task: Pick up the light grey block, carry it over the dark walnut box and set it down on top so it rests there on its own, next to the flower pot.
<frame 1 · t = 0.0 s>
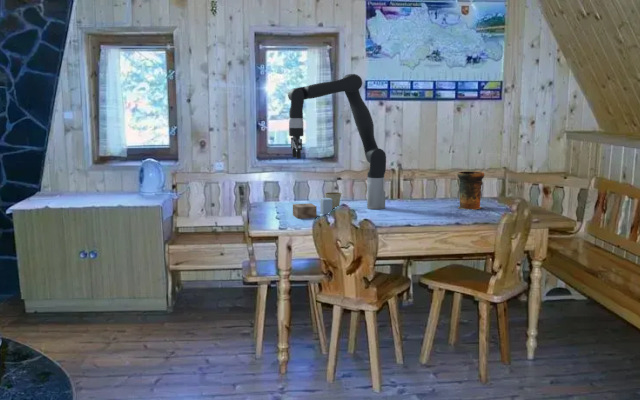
hand: (296, 157, 337), 29 cm above the table, tool pointing down, fingers open, 8 cm apart
walnut box: (304, 216, 331), on the table
flower pot: (333, 209, 353), on the table
vessel: (469, 208, 354), on the table
light grey block: (326, 213, 338), on the table
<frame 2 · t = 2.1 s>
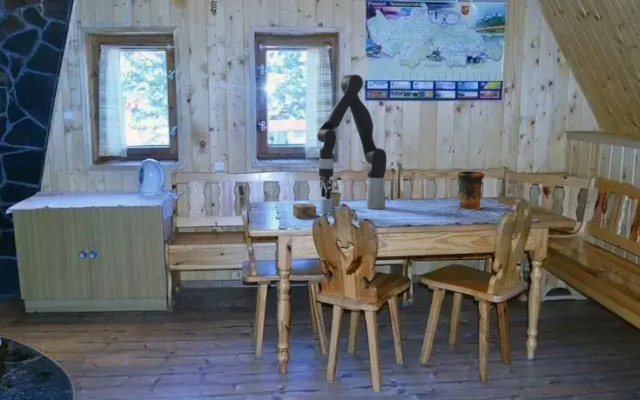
hand: (325, 197, 337), 8 cm above the table, tool pointing down, fingers open, 8 cm apart
nothing on the table moved.
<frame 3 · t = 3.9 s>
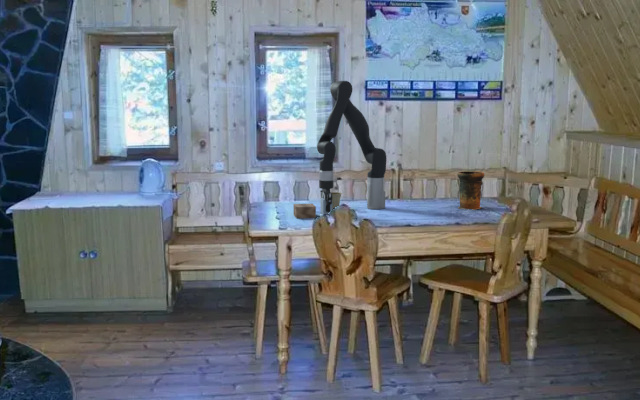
hand: (326, 210, 338), 1 cm above the table, tool pointing down, fingers closed on light grey block, 5 cm apart
light grey block: (326, 213, 338), on the table, touching gripper
everything else where it was.
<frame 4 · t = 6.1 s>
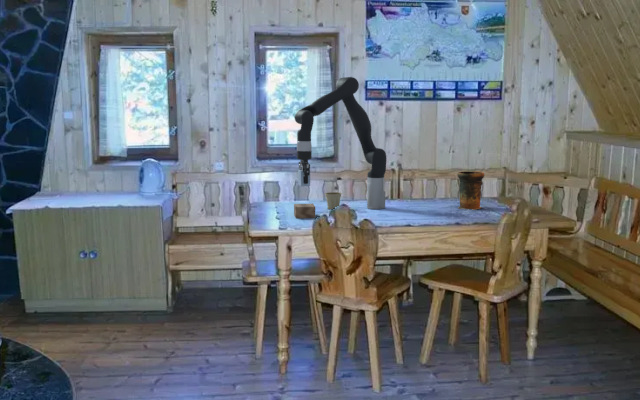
hand: (304, 182, 328), 17 cm above the table, tool pointing down, fingers closed on light grey block, 5 cm apart
light grey block: (304, 185, 328), point 16 cm above the table, touching gripper
everything else where it was.
when the fingers open (9 cm above the table, at t = 8.4 s): light grey block drops 2 cm, resting on walnut box.
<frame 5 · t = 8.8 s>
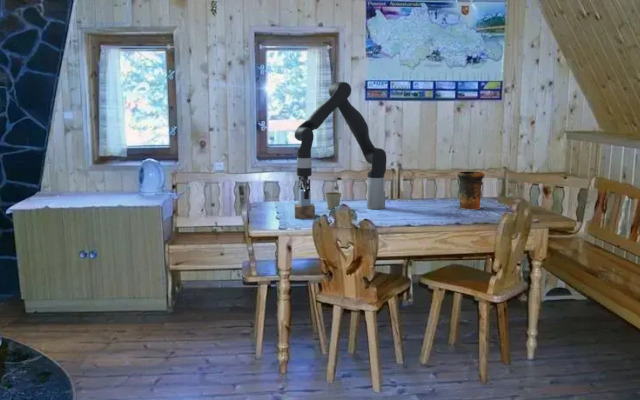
hand: (304, 198, 329), 10 cm above the table, tool pointing down, fingers open, 8 cm apart
walnut box: (304, 216, 331), on the table, touching light grey block
light grey block: (304, 205, 330), point 6 cm above the table, touching walnut box
everything else where it was.
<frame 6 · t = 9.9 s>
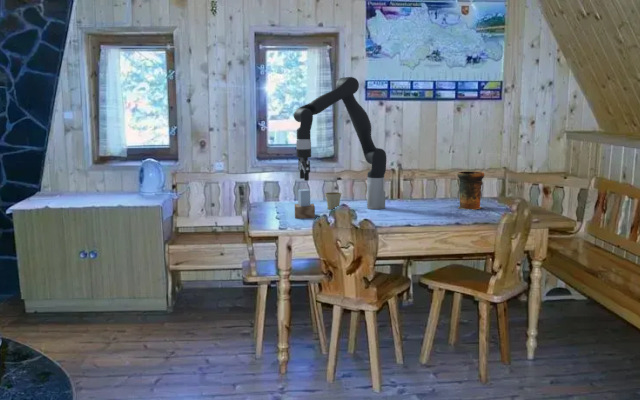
hand: (304, 179, 328), 19 cm above the table, tool pointing down, fingers open, 8 cm apart
walnut box: (304, 216, 331), on the table
light grey block: (304, 205, 330), point 6 cm above the table
everything else where it was.
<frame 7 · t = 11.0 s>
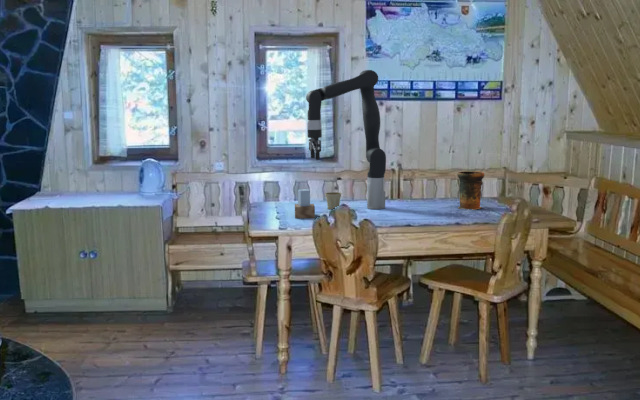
hand: (315, 159, 343), 28 cm above the table, tool pointing down, fingers open, 8 cm apart
walnut box: (304, 216, 331), on the table, touching light grey block
light grey block: (304, 205, 330), point 6 cm above the table, touching walnut box
everything else where it was.
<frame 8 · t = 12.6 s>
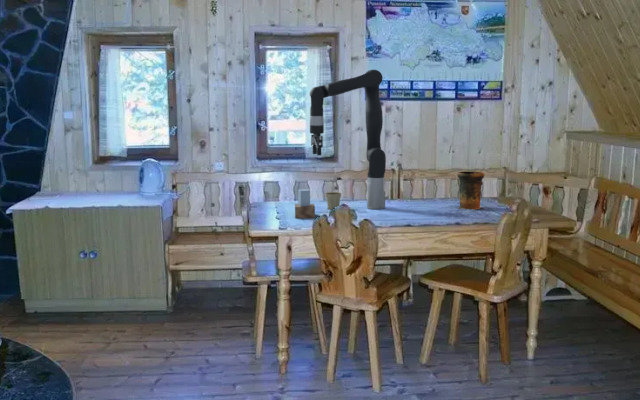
hand: (316, 154, 346), 30 cm above the table, tool pointing down, fingers open, 8 cm apart
walnut box: (304, 216, 331), on the table
light grey block: (304, 205, 330), point 6 cm above the table
everything else where it was.
at the end: light grey block inside the target area on the walnut box (0.4 cm from its centre), point 6.0 cm above the walnut box's base; light grey block tilted 1°; the gripper is holding nothing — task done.
